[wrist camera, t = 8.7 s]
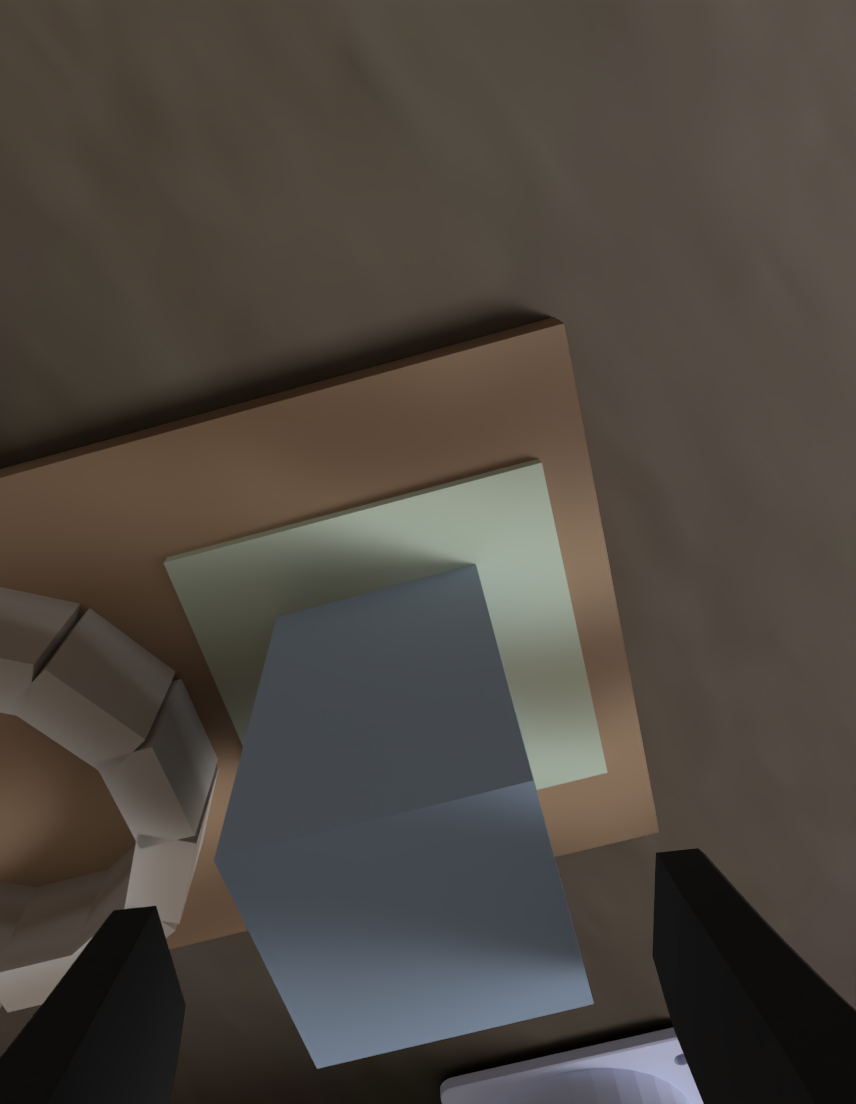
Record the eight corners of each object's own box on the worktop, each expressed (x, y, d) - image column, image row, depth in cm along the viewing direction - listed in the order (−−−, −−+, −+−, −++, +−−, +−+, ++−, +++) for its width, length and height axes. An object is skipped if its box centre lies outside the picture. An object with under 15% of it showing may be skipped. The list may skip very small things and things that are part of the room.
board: (647, 805, 21) (694, 910, 18) (-56, 975, 22) (-130, 1102, 19) (553, 316, 16) (596, 343, 13) (-350, 564, 17) (-517, 646, 14)
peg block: (520, 729, 19) (593, 1003, 12) (339, 776, 19) (317, 1068, 12) (475, 563, 17) (532, 780, 11) (276, 617, 17) (213, 860, 11)
